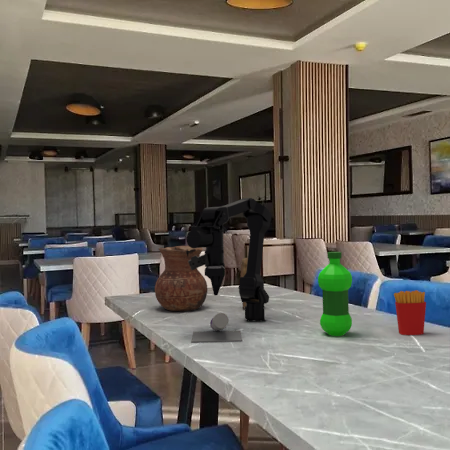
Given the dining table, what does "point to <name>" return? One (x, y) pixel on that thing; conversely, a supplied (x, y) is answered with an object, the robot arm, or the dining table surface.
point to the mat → (216, 336)
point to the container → (219, 321)
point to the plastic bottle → (335, 296)
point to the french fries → (410, 312)
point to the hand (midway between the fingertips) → (215, 295)
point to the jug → (180, 280)
